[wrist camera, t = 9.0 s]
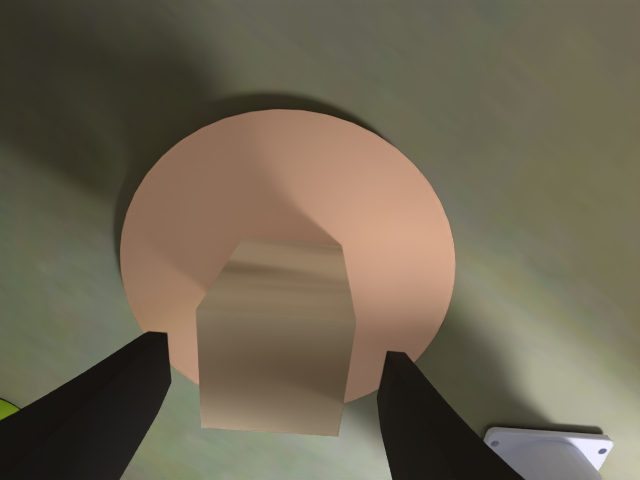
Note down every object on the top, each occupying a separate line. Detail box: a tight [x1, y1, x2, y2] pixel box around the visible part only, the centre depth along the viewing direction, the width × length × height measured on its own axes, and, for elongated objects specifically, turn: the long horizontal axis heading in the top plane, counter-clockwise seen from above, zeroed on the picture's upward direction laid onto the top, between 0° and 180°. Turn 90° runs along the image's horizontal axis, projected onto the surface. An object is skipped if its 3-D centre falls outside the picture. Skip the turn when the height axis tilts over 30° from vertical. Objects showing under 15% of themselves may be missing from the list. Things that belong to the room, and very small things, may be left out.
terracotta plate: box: [120, 109, 455, 403], centre depth 16 cm, size 16×16×1 cm
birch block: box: [196, 237, 357, 437], centre depth 12 cm, size 4×4×6 cm
